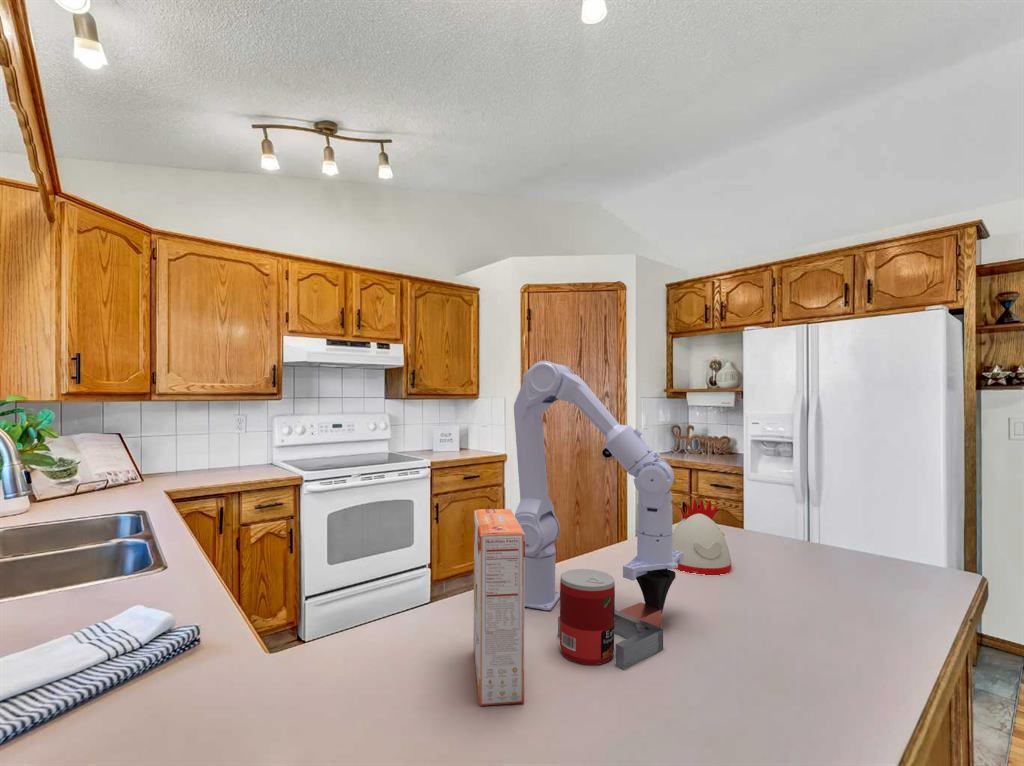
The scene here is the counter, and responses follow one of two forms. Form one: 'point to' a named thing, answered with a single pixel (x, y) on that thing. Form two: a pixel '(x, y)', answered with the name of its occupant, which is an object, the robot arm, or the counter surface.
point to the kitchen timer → (701, 542)
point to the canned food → (587, 616)
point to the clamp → (636, 633)
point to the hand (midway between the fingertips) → (654, 613)
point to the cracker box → (499, 606)
